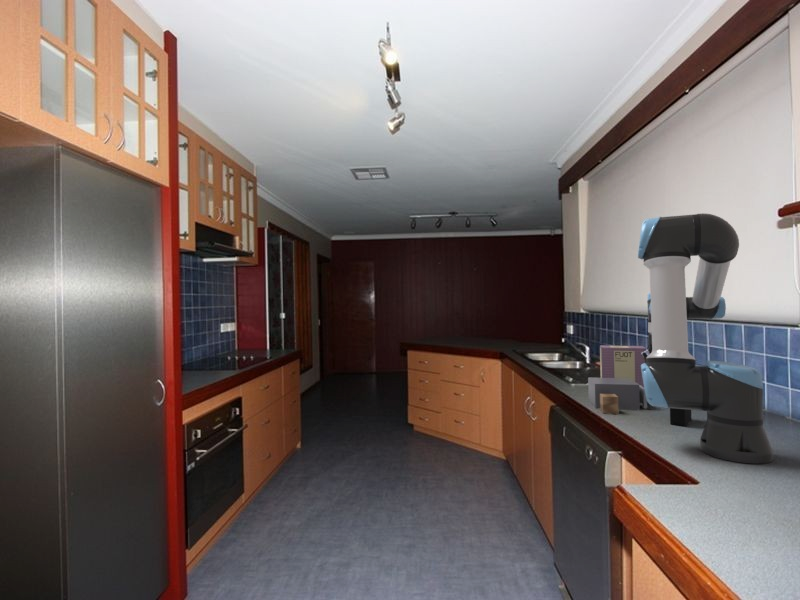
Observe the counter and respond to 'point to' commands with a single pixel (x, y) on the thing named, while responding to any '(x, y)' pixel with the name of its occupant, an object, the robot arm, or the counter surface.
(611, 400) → the wooden block
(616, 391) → the housing
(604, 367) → the box
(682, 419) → the electronic device
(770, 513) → the counter surface
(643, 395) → the tray
